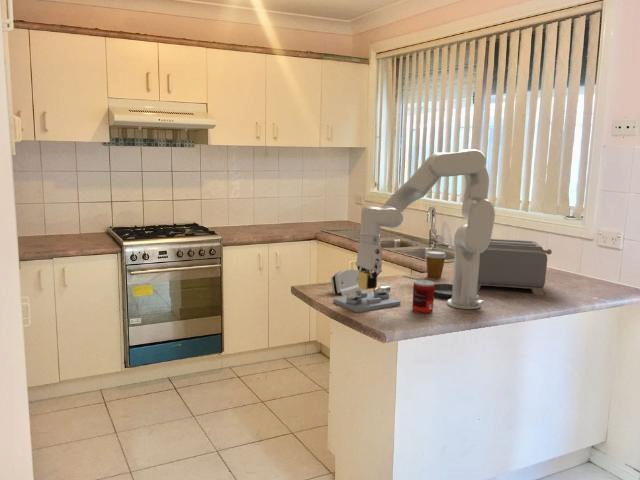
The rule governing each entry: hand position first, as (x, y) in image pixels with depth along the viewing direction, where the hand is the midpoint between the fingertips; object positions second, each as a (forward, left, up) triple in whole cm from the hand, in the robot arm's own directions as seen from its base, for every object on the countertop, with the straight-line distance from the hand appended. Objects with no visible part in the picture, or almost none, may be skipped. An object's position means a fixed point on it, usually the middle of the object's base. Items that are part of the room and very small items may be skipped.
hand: (367, 285), depth 217 cm
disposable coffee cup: (+21, -57, -8) cm, 61 cm away
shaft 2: (0, -7, -7) cm, 10 cm away
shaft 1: (-1, +7, -7) cm, 10 cm away
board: (0, 0, -7) cm, 7 cm away
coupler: (0, 0, -1) cm, 1 cm away
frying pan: (+2, -38, -8) cm, 39 cm away
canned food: (-17, -13, -8) cm, 23 cm away
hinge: (+19, -5, -8) cm, 21 cm away
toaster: (-8, -73, -8) cm, 74 cm away
